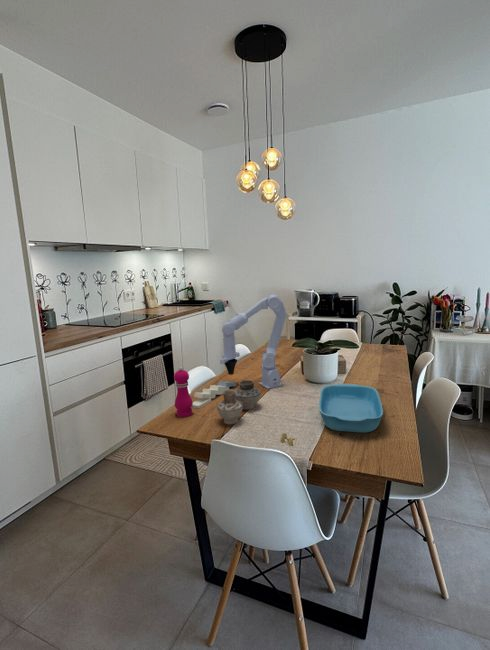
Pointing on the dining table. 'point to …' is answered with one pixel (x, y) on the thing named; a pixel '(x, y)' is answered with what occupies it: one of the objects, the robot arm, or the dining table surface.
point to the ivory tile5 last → (201, 402)
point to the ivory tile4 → (204, 395)
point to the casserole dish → (350, 407)
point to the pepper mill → (182, 394)
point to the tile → (212, 391)
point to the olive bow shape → (287, 439)
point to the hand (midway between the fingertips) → (231, 374)
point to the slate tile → (226, 383)
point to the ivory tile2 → (219, 387)
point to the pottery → (238, 401)
